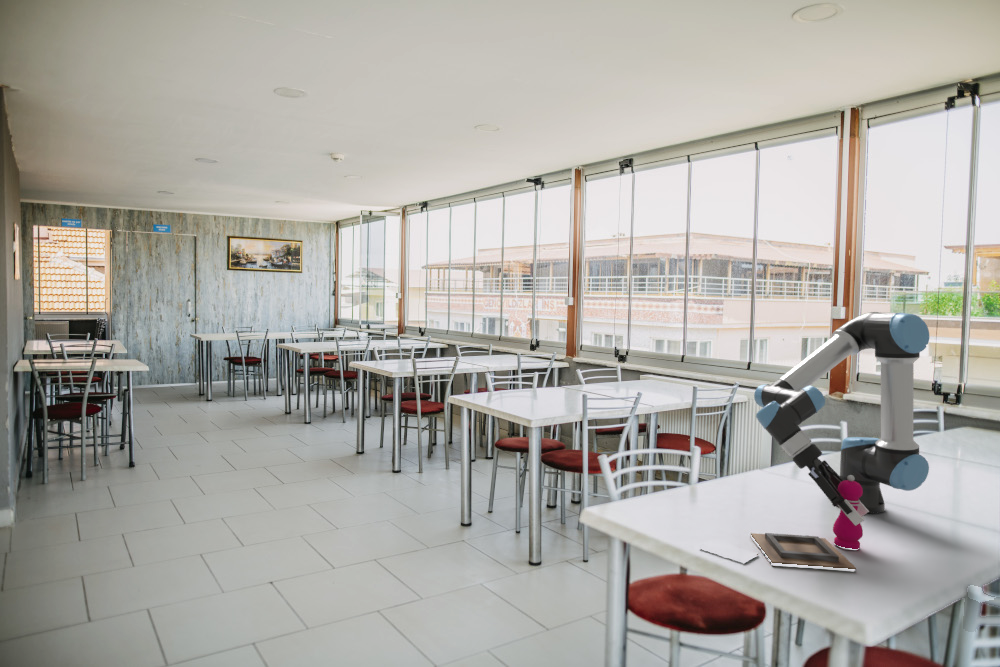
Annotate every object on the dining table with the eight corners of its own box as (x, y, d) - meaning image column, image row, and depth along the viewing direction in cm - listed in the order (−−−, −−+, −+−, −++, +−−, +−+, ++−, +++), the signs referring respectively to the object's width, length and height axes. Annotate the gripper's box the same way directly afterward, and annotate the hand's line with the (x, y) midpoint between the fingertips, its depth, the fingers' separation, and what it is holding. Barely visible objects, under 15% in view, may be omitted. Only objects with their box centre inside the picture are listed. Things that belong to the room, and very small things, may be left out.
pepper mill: (828, 546, 177) (832, 474, 176) (837, 539, 182) (841, 470, 181) (856, 554, 172) (861, 480, 171) (865, 547, 177) (869, 475, 176)
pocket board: (824, 542, 179) (825, 533, 179) (855, 572, 160) (856, 562, 159) (750, 537, 182) (751, 528, 182) (772, 566, 162) (772, 556, 162)
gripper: (799, 451, 193) (856, 516, 185) (782, 464, 176) (844, 536, 168) (819, 436, 190) (879, 501, 181) (804, 448, 173) (868, 521, 164)
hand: (862, 518), depth 174 cm, fingers open, 8 cm apart
